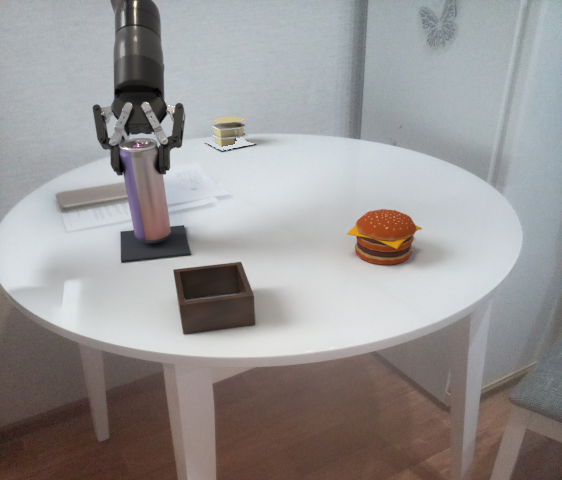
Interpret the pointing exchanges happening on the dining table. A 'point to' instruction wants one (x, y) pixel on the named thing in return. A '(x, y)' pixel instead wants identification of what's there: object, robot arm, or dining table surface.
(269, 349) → the dining table surface
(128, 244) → the mat
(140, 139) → the beverage can
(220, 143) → the stacked layers on plate
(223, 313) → the box
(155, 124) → the robot arm
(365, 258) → the hamburger
